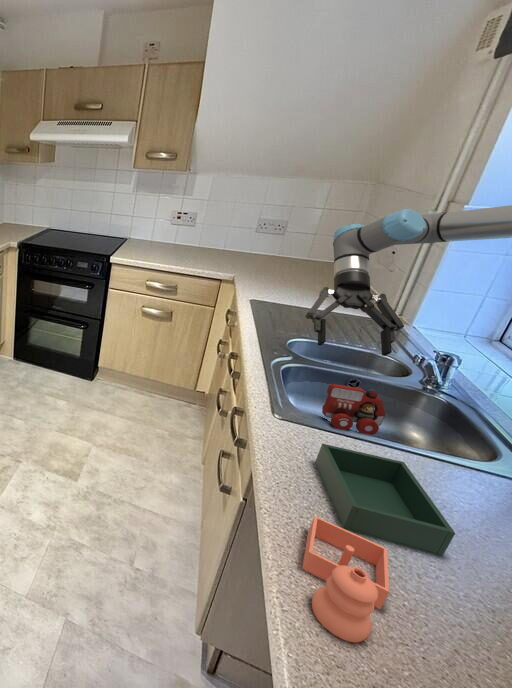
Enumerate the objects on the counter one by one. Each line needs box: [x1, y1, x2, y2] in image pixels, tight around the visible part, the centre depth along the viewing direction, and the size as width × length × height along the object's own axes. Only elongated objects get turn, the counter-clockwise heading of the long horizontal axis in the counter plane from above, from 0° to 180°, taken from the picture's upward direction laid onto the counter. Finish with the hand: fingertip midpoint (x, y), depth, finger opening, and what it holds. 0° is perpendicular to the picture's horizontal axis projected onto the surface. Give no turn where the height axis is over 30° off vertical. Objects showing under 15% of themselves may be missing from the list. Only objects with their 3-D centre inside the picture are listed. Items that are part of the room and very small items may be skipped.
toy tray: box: [314, 443, 456, 557], centre depth 77 cm, size 14×18×6 cm
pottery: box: [301, 515, 390, 643], centre depth 61 cm, size 18×10×10 cm, turn 140°
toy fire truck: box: [321, 383, 386, 436], centre depth 100 cm, size 7×12×10 cm, turn 72°
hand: (353, 348), depth 105 cm, fingers open, 13 cm apart
